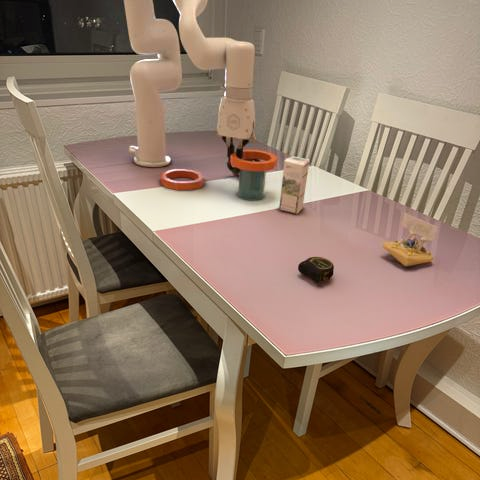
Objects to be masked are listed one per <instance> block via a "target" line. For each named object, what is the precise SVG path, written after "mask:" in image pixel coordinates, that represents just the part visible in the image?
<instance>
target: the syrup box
mask: <svg viewBox="0 0 480 480" xmlns="http://www.w3.org/2000/svg"><path fill="white" fill-rule="evenodd" d="M309 167H310V159H309V158H303V157H299V156H295V155H290V156H288V157H287V158H285V160H284V161H283V169H282V180H281V187H280V196H279V197H280V198H279V205H278V206H279V207H278V210H279V211H281V212H287V213H291V214H294V215H295V214H296V215H298V214H299V212H301V210H302V209H303V208H304V203H305V193H306V187H307V181H308V173H309V169H310V168H309Z"/></svg>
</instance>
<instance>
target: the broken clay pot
mask: <svg viewBox="0 0 480 480" xmlns="http://www.w3.org/2000/svg"><path fill="white" fill-rule="evenodd" d="M242 160H245V161H251V162H262V160H260V159H242ZM226 167H227V169H228V171H230V172H231V173H232V175H233V176H238V175H239V170H240V169H239V168H237V167H234V166H232V164H231V163H230V161H228V160H227V162H226Z"/></svg>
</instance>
